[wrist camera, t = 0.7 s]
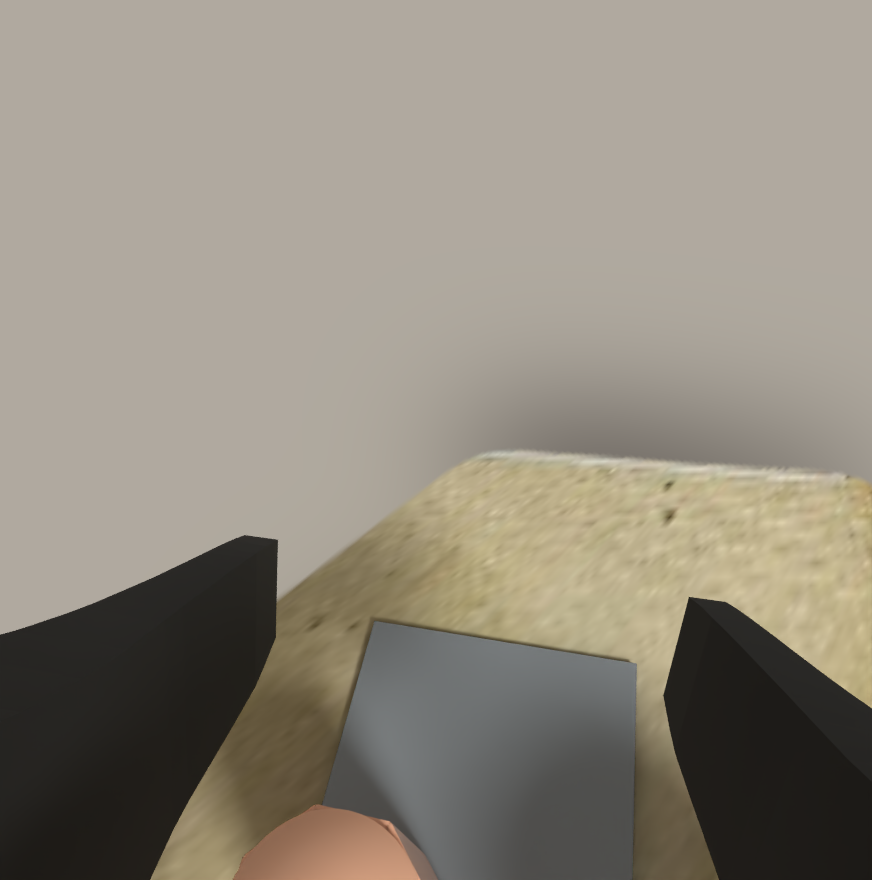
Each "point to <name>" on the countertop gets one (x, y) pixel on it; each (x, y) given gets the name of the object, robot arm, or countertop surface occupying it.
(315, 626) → the countertop surface
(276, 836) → the salmon pink faceted cylinder
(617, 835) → the mat
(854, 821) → the robot arm
